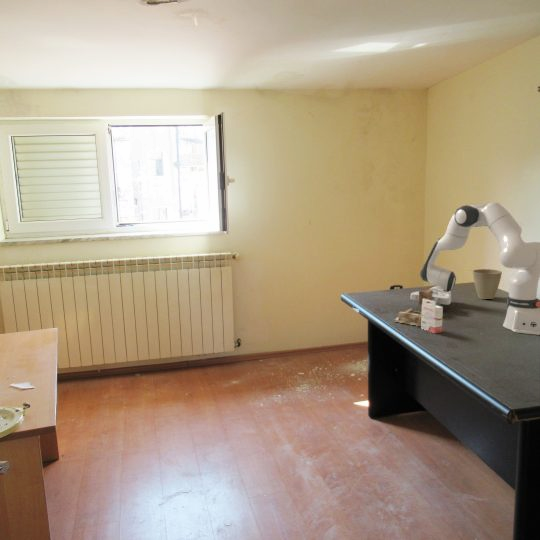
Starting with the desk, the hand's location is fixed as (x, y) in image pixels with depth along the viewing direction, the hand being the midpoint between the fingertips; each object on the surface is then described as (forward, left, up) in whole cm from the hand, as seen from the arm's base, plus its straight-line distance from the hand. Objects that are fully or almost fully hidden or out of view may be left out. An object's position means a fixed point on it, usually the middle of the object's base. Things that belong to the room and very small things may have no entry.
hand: (425, 301), depth 242 cm
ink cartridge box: (-12, +26, -7) cm, 30 cm away
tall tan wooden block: (0, 0, -7) cm, 7 cm away
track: (0, +16, -7) cm, 17 cm away
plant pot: (-18, -48, -7) cm, 52 cm away
